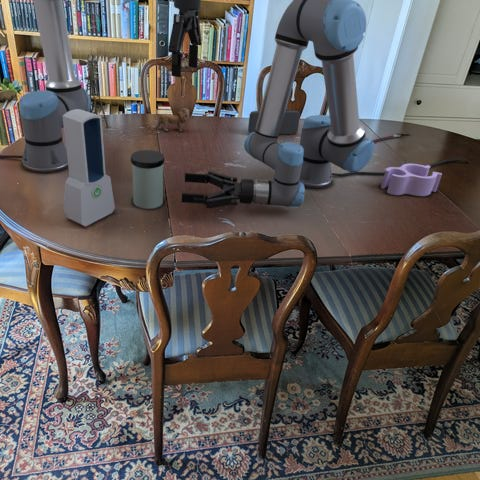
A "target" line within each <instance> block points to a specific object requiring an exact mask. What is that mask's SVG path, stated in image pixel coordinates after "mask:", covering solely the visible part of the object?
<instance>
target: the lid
mask: <svg viewBox="0 0 480 480" xmlns="http://www.w3.org/2000/svg"><path fill="white" fill-rule="evenodd" d="M130 163H131V165H132V164H133V165H135V166H137V167H140V168H156V167H159V166H161V165H163V166H164V163H165V156H164V154H163V153H162V152H159V151H157V150H151V149H141V150H136V151H134V152H132V153H131V155H130Z"/></svg>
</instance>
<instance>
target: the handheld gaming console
mask: <svg viewBox="0 0 480 480" xmlns="http://www.w3.org/2000/svg"><path fill="white" fill-rule="evenodd" d="M259 112H260V110H252V111H251V112H250V113H249V116H248V126H247V127H248V128H247V132H248V133H249V134H250V133H252V132H255V128H256V124H257V120H258V116H259ZM300 118H301V113H300V112H299V111H298V110H288V109H286V111H285V114H284V118H283V121H282V125H281V128H280V132H279V135H293V134H294V135H295V134H296V133H297V132H298V131H299V122H300Z"/></svg>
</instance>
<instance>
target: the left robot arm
mask: <svg viewBox="0 0 480 480" xmlns="http://www.w3.org/2000/svg"><path fill="white" fill-rule="evenodd" d="M32 2H33V7H34V12H35V17H36V23H37V27H38V32H39V38H40V43H41V47H42V53H43V57H44V62H45V67H46V73H47V77H48V80H47V81H46V82H45V84H44V86H45V89H39V90H35V91H34V90H33V91H29V92H27V93H25V94H23V95H22V96H21V97H20V99H19V102H18V105H19V110H18V111H19V115H20V120H21V126H22V132H23V137H24V148H23V153H22V155H11V154H10V155H7V154H6V155H5V154H0V158H3V159H22V160H21V161H22V166H23V168H24V169H25V170H27V171H29V172H33V173H39V174H46V173H56V172H61V171H63V170H66V169H67V168H68V159H67V150H66V144H65V143H64V140H63V132H62V129H64V125H63V115H64V114H65V113H67V112H69V111H71V110H74V109H80V110H84V111H87V112H90V108H91V109H92V105H91V104H92V99H91V100H90V96H89V94H90V93H89V92H86V89H85V88H84V87H83V86H82V82H81V80H79V79H78V78H77V77H76V74H75V67H74V62H73V56H72V50H71V49H72V48H71V43H70V38H69V32H68V31H69V30H68V25H67V19H66V13H65V7H64V2H63V0H32ZM201 4H202V0H173V7H174V8H175V9H177V10H178V13H173V19H172V20H173V21H172V28H171V33H170V38H169V43H168V49H167V51H168V53H171V69H170V70H171V74H170V76H171V77H175V78H182V57H183V54H182V53H183V52H182V48H183V45H184V42H185V38H186V35H188V38H189V42H190V44H189V45H188V46H189V47H188V68H192V69H193V68H194V69H198V67H199V66H198V63H199V46H202V44H203V43H202V33H201V32H202V31H201V23H200V10H201V6H202V5H201ZM181 52H182V53H181Z"/></svg>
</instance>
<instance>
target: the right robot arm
mask: <svg viewBox="0 0 480 480" xmlns="http://www.w3.org/2000/svg"><path fill="white" fill-rule="evenodd" d="M366 31H367V17H366V13H365V10H364V8H363V7H362V5H361V4H359V2H357V1H355V0H292V1H291V2H290V4H288V6H287V7H286V9H285V10H284V12H283V14H282V16H281V17H280V20H279V22H278V25H277V28H276V31H275V32H276V33H275V36H274V41H275V43H276V46H275V50H274V54H273V57H272V62H271V65H270V69H269V73H268V77H267V82H266V85H265V90H264V94H263V97H262V101H261V106H260V108H259V111H260V112H259V116H258V120H257V124H256V128H255V132H252V133H249V134H248V135H247V136H246V138H245V139H244V141H243V148H244V151H245V152H246V153H247V154H248V155H249V156H250V157H252V158H253V159H255V160H257V161H259V162H261V163H262V164H264V165H266V166H267V167H269V168H270V169H272V170H274V178H273V180H268V179H255V180H254V179H252V178H241V180H240V182H238V177H235V176H230V175H225V174H222V173H218V172H215V171H211V170H209V171H208V172H207V173H192V172H191V173H190V172H185V173H184V182H185V183H197V184H210V185H212V186H215V187H217V188H220V189H221V191H218V192H215V193H212V194H207V193H204V194H203V193H189V192H188V193H187V192H181V203H185V204H201V205H204V206H205V208H206V209H207V210H210V209H215V208H220V207H227V206H238V204H239V203H240V204H245V205H251V204H252V203H253V204H254V205H259V206H274V207H275V206H276V207H286V208H295V207H297V208H299V207H301V206H302V205H303V204H304V201H305V193H306V188H307V189H314V190H315V189H316V190H319V189H325V188H328V187H329V186H331V185H332V181H333V176H335V177H346V176H352V175H369V176H371V175H373V176H374V175H375V176H378V175H381V176H384V175H385V171H384V172H383V171H380V172H379V171H374V172H373V171H362V170H363V169H364V168H366V166H367V165H368V164H369V162H370V160H371V159H372V157H373V156H374V153H375V142H374V143H373V140H372V139H370V138H368V137H367V136H366V135H367V133H366V128H365V125H364V124H363V123H362V122H361V121H360V114H359V102H358V91H357V81H356V69H355V58H354V55H355V53H356V52H357V51H358V49H359V46H360V44H361V43H362V42H363V40H364V38H365V35H364V34H365V33H366ZM310 42H312V44H313V51H314V56H315V58H316V59H317V60H318V61H320V62H321V66H322V67H321V68H322V73H323V81H324V87H325V94H326V100H327V101H326V102H327V108H328V114H329V115H327V114H313V115H308V116H307V117H305V119H304V120H303V124H302V127H301V133H300V138H299V139H300V140H299V143H298V142H293V141H285V142H282V143H279V142H278V140H279V136H280V134H279V132H280V128H281V125H282V121H283V118H284V114H285V111H286V110H287V107H288V103H289V100H290V97H291V93H292V89H293V86H294V82H295V78H296V75H297V72H298V68H299V65H300V61H301V57H302V54H303V52H304V51H305V50H306V49H307V48H308V46H309V43H310ZM451 159H452V158H451ZM451 159H450V160H448V159H444V160H440V161H437V162H434V163H432V164H428V165H429V166H430V168H432V167H435V166H438V165H441V164H444V163H447V162H461V161H460V160H467V159H466V158H463V157H462V158H454V159H455V160H451ZM464 162H466V163H467V164H468V165H471V162H470V161H469V160H468V161H464ZM331 164H333V165H334V166H336V167H338V168H340V169H341V170H343V171H346V172H345V173H337V172H332V165H331Z"/></svg>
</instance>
